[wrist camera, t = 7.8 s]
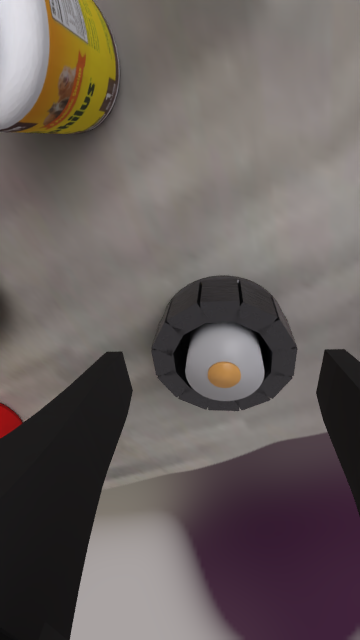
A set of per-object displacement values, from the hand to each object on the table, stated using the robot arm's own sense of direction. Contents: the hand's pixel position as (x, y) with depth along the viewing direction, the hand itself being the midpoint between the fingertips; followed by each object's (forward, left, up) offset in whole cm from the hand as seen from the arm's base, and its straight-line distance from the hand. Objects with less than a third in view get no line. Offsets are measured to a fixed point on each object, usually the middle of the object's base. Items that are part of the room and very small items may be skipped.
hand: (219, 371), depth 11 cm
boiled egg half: (0, +5, -9) cm, 11 cm away
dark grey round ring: (0, +5, -10) cm, 11 cm away
